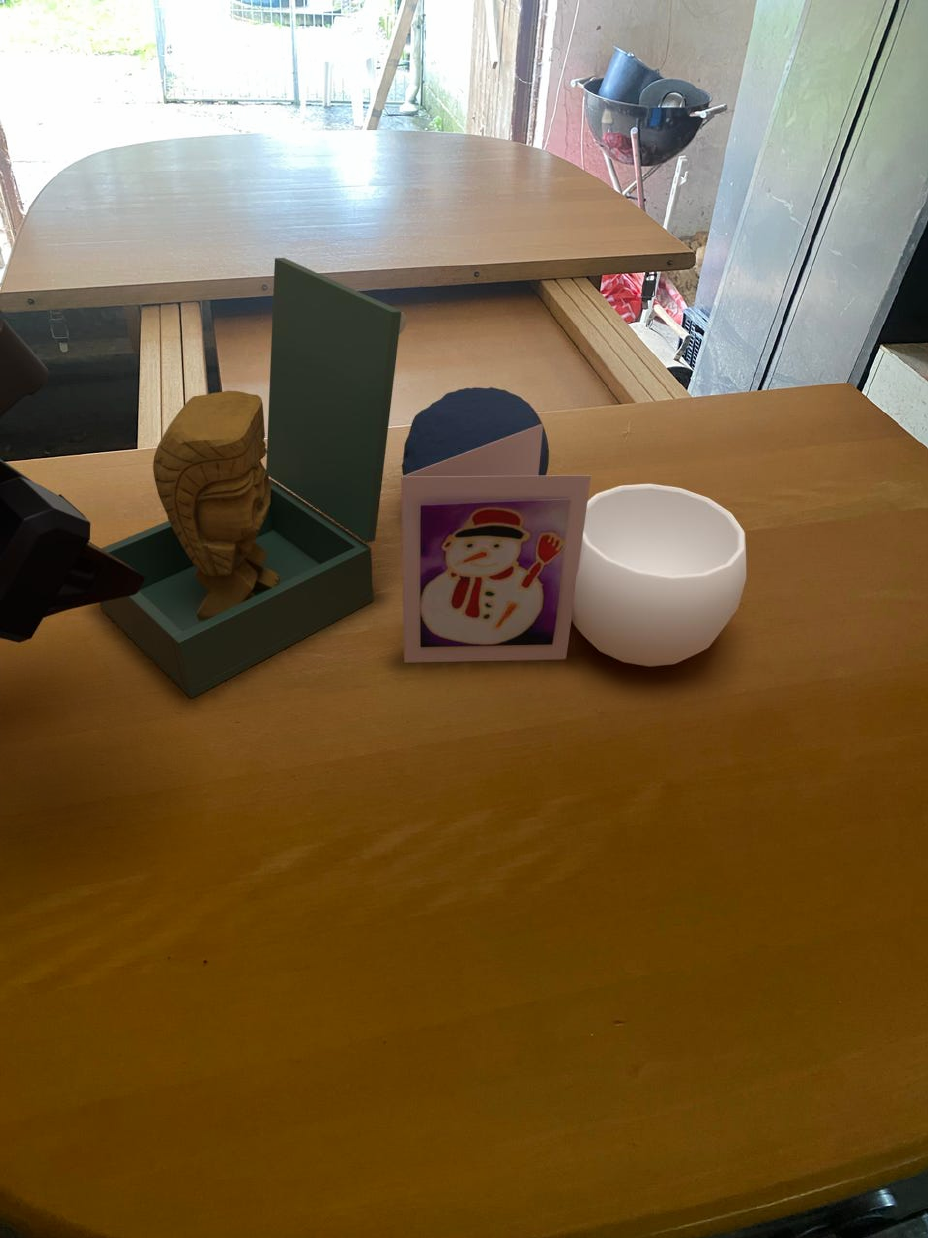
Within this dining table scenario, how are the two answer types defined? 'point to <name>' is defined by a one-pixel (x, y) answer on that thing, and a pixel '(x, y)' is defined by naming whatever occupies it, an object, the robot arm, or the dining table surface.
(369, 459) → the box lid
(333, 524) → the green open box
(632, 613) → the cup
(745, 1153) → the dining table surface
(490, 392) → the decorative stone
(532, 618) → the greeting card
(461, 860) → the dining table surface
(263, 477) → the figurine
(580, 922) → the dining table surface
